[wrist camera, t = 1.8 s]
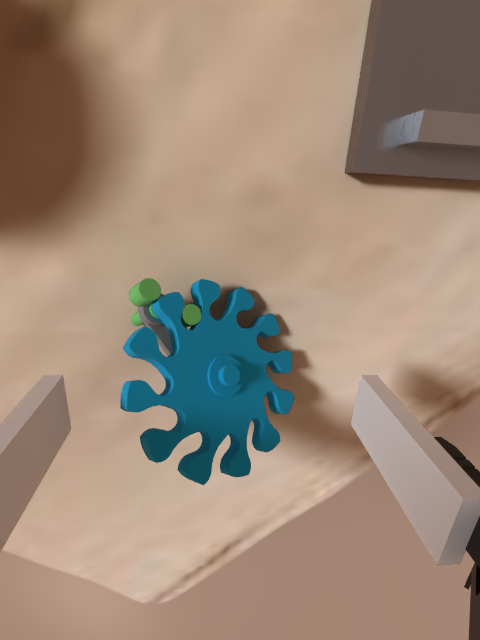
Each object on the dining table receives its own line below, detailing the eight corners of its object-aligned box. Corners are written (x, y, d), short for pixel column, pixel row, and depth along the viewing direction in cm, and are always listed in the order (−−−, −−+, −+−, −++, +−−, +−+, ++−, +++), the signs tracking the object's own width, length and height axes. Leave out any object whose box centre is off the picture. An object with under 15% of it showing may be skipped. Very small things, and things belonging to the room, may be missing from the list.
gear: (325, 384, 20) (225, 539, 14) (262, 386, 25) (166, 505, 19) (226, 225, 18) (54, 336, 12) (175, 261, 22) (34, 353, 16)
